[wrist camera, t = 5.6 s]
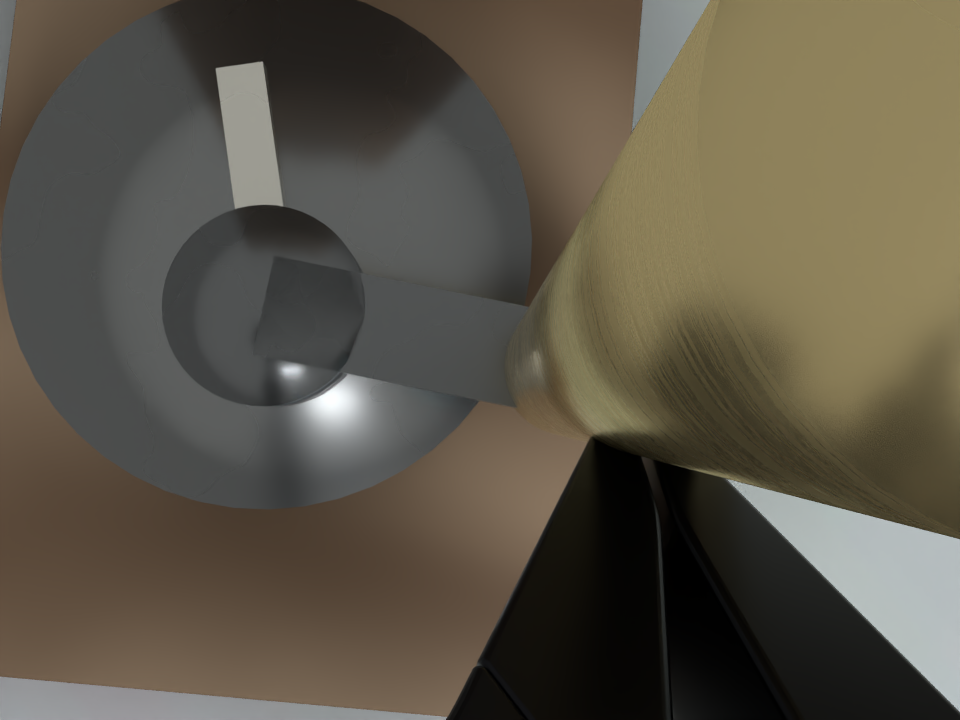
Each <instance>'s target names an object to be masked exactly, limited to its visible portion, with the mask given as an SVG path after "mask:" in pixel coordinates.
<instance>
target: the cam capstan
mask: <svg viewBox="0 0 960 720" xmlns="http://www.w3.org/2000/svg"><path fill="white" fill-rule="evenodd" d="M531 249H532V233H531V222H530V211H529V202H528V198H527V194H526V189H525V185H524V180H523V176H522V171H521V169H520V166H519V163H518V160H517V158H516V155H515V152H514V150H513V147H512V144H511V142H510V139H509V137H508V135H507V133H506V131H505V130H504V128H503V126H502V124H501V122H500V120H499V118H498V116H497V114H496V112H495V111H494V109H493V107H492V106H491V105H490V103H489V102H488V100H487V99H486V98H485V96H484V95H483V93H482V92H481V91H480V89H479V88H478V86H477V85H476V83H475V82H474V81H473V80H472V79H471V78H470V77H469V76H468V74H467V73H466V72H465V71H464V70H463V69H462V68H461V67H460V66H459V65H458V64H457V63H456V62H455V60H454V59H453V58H452V57H451V56H449V55H448V54H447V53H446V52H445V51H443V50H442V49H441V48H440V47H439V46H437V45H436V44H435V43H434V42H433V41H431V40H430V39H429V38H428V37H427V36H425V35H424V34H422V33H421V32H419V31H417V30H416V29H414V28H413V27H411V26H409V25H408V24H406V23H405V22H403V21H402V20H400V19H398V18H397V17H395V16H393V15H390V14H388V13H386V12H384V11H382V10H380V9H377V8H375V7H373V6H371V5H369V4H367V3H364V2H361V1H357V0H181V1H179V2H176V3H173V4H170V5H167V6H165V7H163V8H160V9H158V10H156V11H154V12H152V13H150V14H148V15H146V16H144V17H142V18H140V19H138V20H136V21H134V22H133V23H131V24H130V25H128V26H127V27H125V28H124V29H122V30H121V31H119V32H118V33H116V34H115V35H113V36H112V37H110V38H109V39H107V40H106V41H105V42H103V43H102V44H101V45H100V46H99V47H98V48H96V49H95V50H94V51H93V52H92V53H91V54H89V55H88V56H87V57H86V58H85V59H84V60H82V61H81V62H80V63H79V64H78V66H77V67H76V68H75V69H74V70H73V71H72V72H71V73H70V74H69V76H68V77H67V78H66V79H65V80H64V81H63V82H62V83H61V84H60V86H59V87H58V88H57V89H56V91H55V92H54V94H53V95H52V96H51V98H50V99H49V101H48V102H47V104H46V105H45V107H44V108H43V110H42V111H41V112H40V114H39V115H38V117H37V119H36V121H35V123H34V125H33V127H32V129H31V131H30V133H29V135H28V137H27V138H26V140H25V142H24V144H23V146H22V149H21V152H20V154H19V157H18V160H17V163H16V166H15V169H14V171H13V174H12V177H11V180H10V185H9V189H8V194H7V199H6V203H5V208H4V213H3V225H2V238H1V261H2V279H3V286H4V291H5V297H6V302H7V307H8V312H9V317H10V320H11V323H12V326H13V329H14V332H15V335H16V338H17V341H18V344H19V347H20V349H21V351H22V353H23V355H24V357H25V359H26V361H27V363H28V365H29V367H30V369H31V372H32V374H33V376H34V378H35V380H36V381H37V383H38V384H39V386H40V387H41V388H42V390H43V391H44V393H45V394H46V396H47V397H48V399H49V400H50V402H51V403H52V405H53V406H54V408H55V409H56V410H57V411H58V412H59V414H60V415H61V416H62V417H63V418H64V419H65V420H66V421H67V423H68V424H69V425H70V426H71V427H72V428H73V429H74V430H75V431H76V433H77V434H78V435H79V436H81V437H82V438H83V439H84V440H85V441H86V442H88V443H89V444H90V445H91V446H92V447H93V448H95V449H96V450H97V451H98V452H99V453H100V454H102V455H103V456H104V457H105V458H107V459H108V460H110V461H111V462H113V463H115V464H116V465H118V466H119V467H121V468H122V469H124V470H125V471H127V472H128V473H130V474H132V475H133V476H135V477H137V478H139V479H141V480H143V481H145V482H148V483H150V484H152V485H154V486H156V487H158V488H160V489H162V490H165V491H167V492H170V493H173V494H177V495H180V496H183V497H186V498H189V499H192V500H195V501H199V502H204V503H209V504H215V505H221V506H226V507H232V508H248V509H280V508H291V507H302V506H308V505H313V504H317V503H322V502H326V501H331V500H335V499H339V498H342V497H345V496H348V495H350V494H353V493H356V492H359V491H361V490H364V489H367V488H370V487H372V486H374V485H376V484H378V483H380V482H382V481H384V480H386V479H388V478H390V477H392V476H393V475H395V474H397V473H399V472H401V471H403V470H405V469H406V468H407V467H409V466H410V465H412V464H413V463H415V462H416V461H417V460H419V459H420V458H422V457H423V456H425V455H426V454H427V453H429V452H430V451H432V450H433V449H434V448H435V447H436V446H437V445H438V444H440V443H441V442H442V441H443V440H444V439H445V438H446V437H447V436H448V435H449V434H451V433H452V432H453V431H454V430H455V429H456V428H457V427H458V426H459V425H460V424H461V423H462V421H463V420H464V419H465V418H466V417H467V415H468V414H469V413H470V412H471V411H472V409H473V408H474V407H475V406H476V405H477V404H478V402H479V401H482V402H487V403H492V404H497V405H502V406H507V407H512V408H515V410H516V411H517V412H518V413H519V414H520V415H521V416H522V417H523V418H524V419H525V420H526V421H527V422H529V423H530V424H532V425H533V426H535V427H536V428H539V429H541V430H543V431H546V432H549V433H552V434H556V435H560V436H564V437H567V438H571V439H575V440H579V441H583V442H587V443H588V441H589V439H590V437H591V438H593V439H595V440H597V441H599V442H601V443H603V444H605V445H608V446H610V447H612V448H614V449H617V450H620V451H623V452H627V453H630V454H633V455H637V456H641V457H645V458H649V459H652V460H656V461H660V462H664V463H668V464H672V465H676V466H679V467H683V468H687V469H691V470H695V471H699V472H703V473H707V474H710V475H714V476H718V477H722V478H726V479H730V480H734V481H737V482H741V483H745V484H749V485H753V486H757V487H761V488H764V489H768V490H772V491H776V492H780V493H784V494H788V495H792V496H795V497H799V498H803V499H807V500H811V501H815V502H819V503H822V504H826V505H830V506H834V507H838V508H842V509H846V510H849V511H853V512H857V513H861V514H865V515H869V516H873V517H877V518H880V519H884V520H888V521H892V522H896V523H900V524H904V525H907V526H911V527H915V528H919V529H923V530H927V531H931V532H934V533H938V534H942V535H946V536H950V537H954V538H958V539H960V0H710V2H709V4H708V5H707V7H706V9H705V11H704V12H703V14H702V16H701V17H700V19H699V21H698V22H697V24H696V26H695V27H694V29H693V31H692V32H691V34H690V36H689V38H688V39H687V41H686V43H685V44H684V46H683V48H682V49H681V51H680V53H679V54H678V56H677V58H676V60H675V61H674V63H673V65H672V66H671V68H670V70H669V71H668V73H667V75H666V76H665V78H664V80H663V81H662V83H661V85H660V87H659V88H658V90H657V92H656V93H655V95H654V97H653V98H652V100H651V102H650V103H649V105H648V107H647V108H646V110H645V112H644V114H643V115H642V117H641V119H640V120H639V122H638V124H637V125H636V127H635V129H634V130H633V132H632V134H631V136H630V137H629V139H628V141H627V142H626V144H625V146H624V147H623V149H622V151H621V152H620V154H619V156H618V157H617V159H616V161H615V163H614V164H613V166H612V168H611V169H610V171H609V173H608V174H607V176H606V178H605V179H604V181H603V183H602V184H601V186H600V188H599V190H598V191H597V193H596V195H595V196H594V198H593V200H592V201H591V203H590V205H589V206H588V208H587V210H586V212H585V213H584V215H583V217H582V218H581V220H580V222H579V223H578V225H577V227H576V228H575V230H574V232H573V233H572V235H571V237H570V239H569V240H568V242H567V244H566V245H565V247H564V249H563V250H562V252H561V254H560V255H559V257H558V259H557V260H556V262H555V264H554V266H553V267H552V269H551V271H550V272H549V274H548V276H547V277H546V279H545V281H544V282H543V284H542V286H541V288H540V289H539V291H538V293H537V294H536V296H535V298H534V299H533V301H532V303H531V304H530V306H529V307H527V306H525V301H526V295H527V289H528V284H529V278H530V272H531Z"/></svg>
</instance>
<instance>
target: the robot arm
mask: <svg viewBox="0 0 960 720" xmlns="http://www.w3.org/2000/svg"><path fill="white" fill-rule="evenodd" d="M446 720H960V712H959V711H958V710H957V709H956V708H955V707H954V706H953V705H952V704H951V703H950V702H949V701H948V700H947V699H946V698H945V697H944V696H943V695H942V694H941V693H940V692H939V691H938V690H937V689H936V688H935V687H934V686H933V685H932V684H931V683H930V682H929V681H928V680H927V679H926V678H925V677H924V676H923V675H922V674H921V673H920V672H919V671H918V670H917V669H916V668H915V667H914V666H913V665H912V664H911V663H910V662H909V661H908V660H907V659H906V658H905V657H904V656H903V655H902V654H901V653H900V652H899V651H898V650H897V649H896V648H895V647H894V646H893V645H892V644H891V643H890V642H889V641H888V640H887V639H886V638H885V637H884V636H883V635H882V634H881V633H880V632H879V631H878V630H877V629H876V628H875V627H874V626H873V625H872V624H871V623H870V622H869V621H868V620H867V619H866V618H865V617H864V616H863V615H862V614H861V613H860V612H859V611H858V610H857V609H856V608H855V607H854V606H853V605H852V604H851V603H850V602H849V601H848V600H847V599H846V598H845V597H844V596H843V595H842V594H841V593H840V592H839V591H838V590H837V589H836V588H835V587H834V586H833V585H832V584H831V583H830V582H829V581H828V580H827V579H826V578H825V577H824V576H823V575H822V574H821V573H820V572H819V571H818V570H817V569H816V568H815V567H814V566H813V565H812V564H811V563H810V562H809V561H808V560H807V559H806V558H805V557H804V556H803V555H802V554H801V553H800V552H799V551H798V550H797V549H796V548H795V547H794V546H793V545H792V544H791V543H790V542H789V541H788V540H787V539H786V538H785V537H784V536H783V535H782V534H781V533H780V532H779V531H778V530H777V529H776V528H775V527H774V526H773V525H772V524H771V523H770V522H769V521H768V520H767V519H766V518H765V517H764V516H763V515H762V514H761V513H760V512H759V511H758V510H757V509H756V508H755V507H754V506H753V505H752V504H751V503H750V502H749V501H748V500H747V499H746V498H745V497H744V496H743V495H742V494H741V493H740V492H739V491H738V490H737V489H736V488H735V487H734V486H733V485H732V484H731V483H730V482H729V481H728V480H727V479H726V478H722V477H718V476H714V475H710V474H707V473H703V472H699V471H695V470H691V469H687V468H683V467H679V466H676V465H672V464H668V463H664V462H660V461H656V460H652V459H649V458H645V457H641V456H637V455H633V454H630V453H627V452H623V451H620V450H617V449H614V448H612V447H610V446H608V445H605V444H603V443H601V442H599V441H597V440H595V439H593V438H591V437H590V439H589V441H588V443H587V445H586V447H585V449H584V451H583V453H582V455H581V457H580V458H579V460H578V462H577V464H576V466H575V468H574V470H573V472H572V474H571V476H570V478H569V480H568V482H567V484H566V486H565V488H564V490H563V492H562V494H561V496H560V498H559V500H558V502H557V504H556V506H555V508H554V510H553V512H552V514H551V516H550V518H549V520H548V522H547V524H546V526H545V528H544V530H543V532H542V534H541V536H540V538H539V540H538V542H537V544H536V546H535V548H534V550H533V552H532V554H531V556H530V558H529V560H528V562H527V564H526V566H525V568H524V570H523V572H522V574H521V576H520V578H519V580H518V582H517V584H516V586H515V588H514V590H513V592H512V594H511V596H510V597H509V599H508V601H507V603H506V605H505V607H504V609H503V611H502V613H501V615H500V617H499V619H498V621H497V623H496V625H495V627H494V629H493V631H492V633H491V635H490V637H489V639H488V641H487V643H486V645H485V647H484V649H483V651H482V653H481V655H480V657H479V659H478V661H477V665H476V666H475V667H474V668H473V669H472V671H471V673H470V675H469V677H468V679H467V681H466V683H465V685H464V687H463V689H462V691H461V693H460V695H459V697H458V699H457V701H456V703H455V705H454V706H453V708H452V710H451V712H450V714H449V715H448V717H447V719H446Z"/></svg>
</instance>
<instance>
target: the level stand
mask: <svg viewBox="0 0 960 720" xmlns="http://www.w3.org/2000/svg"><path fill="white" fill-rule="evenodd" d="M179 1H181V0H17V1H16V8H15V16H14V24H13V32H12V39H11V47H10V55H9V63H8V70H7V78H6V86H5V94H4V101H3V109H2V117H1V125H0V676H1V677H12V678H23V679H34V680H45V681H56V682H67V683H79V684H90V685H101V686H112V687H123V688H134V689H145V690H156V691H167V692H178V693H189V694H201V695H212V696H223V697H234V698H245V699H256V700H267V701H278V702H289V703H300V704H311V705H323V706H334V707H345V708H356V709H367V710H378V711H389V712H400V713H411V714H422V715H433V716H444V717H448V715H449V714H450V712H451V710H452V708H453V706H454V705H455V703H456V701H457V699H458V697H459V695H460V693H461V691H462V689H463V687H464V685H465V683H466V681H467V679H468V677H469V675H470V673H471V671H472V669H473V668H474V667H475V666H476V665H477V661H478V659H479V657H480V655H481V653H482V651H483V649H484V647H485V645H486V643H487V641H488V639H489V637H490V635H491V633H492V631H493V629H494V627H495V625H496V623H497V621H498V619H499V617H500V615H501V613H502V611H503V609H504V607H505V605H506V603H507V601H508V599H509V597H510V596H511V594H512V592H513V590H514V588H515V586H516V584H517V582H518V580H519V578H520V576H521V574H522V572H523V570H524V568H525V566H526V564H527V562H528V560H529V558H530V556H531V554H532V552H533V550H534V548H535V546H536V544H537V542H538V540H539V538H540V536H541V534H542V532H543V530H544V528H545V526H546V524H547V522H548V520H549V518H550V516H551V514H552V512H553V510H554V508H555V506H556V504H557V502H558V500H559V498H560V496H561V494H562V492H563V490H564V488H565V486H566V484H567V482H568V480H569V478H570V476H571V474H572V472H573V470H574V468H575V466H576V464H577V462H578V460H579V458H580V457H581V455H582V453H583V451H584V449H585V447H586V445H587V442H583V441H579V440H575V439H571V438H567V437H564V436H560V435H556V434H552V433H549V432H546V431H543V430H541V429H539V428H536V427H535V426H533V425H532V424H530V423H529V422H527V421H526V420H525V419H524V418H523V417H522V416H521V415H520V414H519V413H518V412H517V411H516V410H515V408H512V407H507V406H502V405H497V404H492V403H487V402H482V401H479V402H478V404H477V405H476V406H475V407H474V408H473V409H472V411H471V412H470V413H469V414H468V415H467V417H466V418H465V419H464V420H463V421H462V423H461V424H460V425H459V426H458V427H457V428H456V429H455V430H454V431H453V432H452V433H451V434H449V435H448V436H447V437H446V438H445V439H444V440H443V441H442V442H441V443H440V444H438V445H437V446H436V447H435V448H434V449H433V450H432V451H430V452H429V453H427V454H426V455H425V456H423V457H422V458H420V459H419V460H417V461H416V462H415V463H413V464H412V465H410V466H409V467H407V468H406V469H405V470H403V471H401V472H399V473H397V474H395V475H393V476H392V477H390V478H388V479H386V480H384V481H382V482H380V483H378V484H376V485H374V486H372V487H370V488H367V489H364V490H361V491H359V492H356V493H353V494H350V495H348V496H345V497H342V498H339V499H335V500H331V501H326V502H322V503H317V504H313V505H308V506H302V507H291V508H280V509H248V508H232V507H226V506H221V505H215V504H209V503H204V502H199V501H195V500H192V499H189V498H186V497H183V496H180V495H177V494H173V493H170V492H167V491H165V490H162V489H160V488H158V487H156V486H154V485H152V484H150V483H148V482H145V481H143V480H141V479H139V478H137V477H135V476H133V475H132V474H130V473H128V472H127V471H125V470H124V469H122V468H121V467H119V466H118V465H116V464H115V463H113V462H111V461H110V460H108V459H107V458H105V457H104V456H103V455H102V454H100V453H99V452H98V451H97V450H96V449H95V448H93V447H92V446H91V445H90V444H89V443H88V442H86V441H85V440H84V439H83V438H82V437H81V436H79V435H78V434H77V433H76V431H75V430H74V429H73V428H72V427H71V426H70V425H69V424H68V423H67V421H66V420H65V419H64V418H63V417H62V416H61V415H60V414H59V412H58V411H57V410H56V409H55V408H54V406H53V405H52V403H51V402H50V400H49V399H48V397H47V396H46V394H45V393H44V391H43V390H42V388H41V387H40V386H39V384H38V383H37V381H36V380H35V378H34V376H33V374H32V372H31V369H30V367H29V365H28V363H27V361H26V359H25V357H24V355H23V353H22V351H21V349H20V347H19V344H18V341H17V338H16V335H15V332H14V329H13V326H12V323H11V320H10V317H9V312H8V307H7V302H6V297H5V291H4V286H3V279H2V261H1V238H2V225H3V213H4V208H5V203H6V199H7V194H8V189H9V185H10V180H11V177H12V174H13V171H14V169H15V166H16V163H17V160H18V157H19V154H20V152H21V149H22V146H23V144H24V142H25V140H26V138H27V137H28V135H29V133H30V131H31V129H32V127H33V125H34V123H35V121H36V119H37V117H38V115H39V114H40V112H41V111H42V110H43V108H44V107H45V105H46V104H47V102H48V101H49V99H50V98H51V96H52V95H53V94H54V92H55V91H56V89H57V88H58V87H59V86H60V84H61V83H62V82H63V81H64V80H65V79H66V78H67V77H68V76H69V74H70V73H71V72H72V71H73V70H74V69H75V68H76V67H77V66H78V64H79V63H80V62H81V61H82V60H84V59H85V58H86V57H87V56H88V55H89V54H91V53H92V52H93V51H94V50H95V49H96V48H98V47H99V46H100V45H101V44H102V43H103V42H105V41H106V40H107V39H109V38H110V37H112V36H113V35H115V34H116V33H118V32H119V31H121V30H122V29H124V28H125V27H127V26H128V25H130V24H131V23H133V22H134V21H136V20H138V19H140V18H142V17H144V16H146V15H148V14H150V13H152V12H154V11H156V10H158V9H160V8H163V7H165V6H167V5H170V4H173V3H176V2H179ZM357 1H361V2H364V3H367V4H369V5H371V6H373V7H375V8H377V9H380V10H382V11H384V12H386V13H388V14H390V15H393V16H395V17H397V18H398V19H400V20H402V21H403V22H405V23H406V24H408V25H409V26H411V27H413V28H414V29H416V30H417V31H419V32H421V33H422V34H424V35H425V36H427V37H428V38H429V39H430V40H431V41H433V42H434V43H435V44H436V45H437V46H439V47H440V48H441V49H442V50H443V51H445V52H446V53H447V54H448V55H449V56H451V57H452V58H453V59H454V60H455V62H456V63H457V64H458V65H459V66H460V67H461V68H462V69H463V70H464V71H465V72H466V73H467V74H468V76H469V77H470V78H471V79H472V80H473V81H474V82H475V83H476V85H477V86H478V88H479V89H480V91H481V92H482V93H483V95H484V96H485V98H486V99H487V100H488V102H489V103H490V105H491V106H492V107H493V109H494V111H495V112H496V114H497V116H498V118H499V120H500V122H501V124H502V126H503V128H504V130H505V131H506V133H507V135H508V137H509V139H510V142H511V144H512V147H513V150H514V152H515V155H516V158H517V160H518V163H519V166H520V169H521V171H522V176H523V180H524V185H525V189H526V194H527V198H528V202H529V211H530V222H531V233H532V249H531V272H530V278H529V284H528V289H527V295H526V301H525V306H527V307H529V306H530V304H531V303H532V301H533V299H534V298H535V296H536V294H537V293H538V291H539V289H540V288H541V286H542V284H543V282H544V281H545V279H546V277H547V276H548V274H549V272H550V271H551V269H552V267H553V266H554V264H555V262H556V260H557V259H558V257H559V255H560V254H561V252H562V250H563V249H564V247H565V245H566V244H567V242H568V240H569V239H570V237H571V235H572V233H573V232H574V230H575V228H576V227H577V225H578V223H579V222H580V220H581V218H582V217H583V215H584V213H585V212H586V210H587V208H588V206H589V205H590V203H591V201H592V200H593V198H594V196H595V195H596V193H597V191H598V190H599V188H600V186H601V184H602V183H603V181H604V179H605V178H606V176H607V174H608V173H609V171H610V169H611V168H612V166H613V164H614V163H615V161H616V159H617V157H618V156H619V154H620V152H621V151H622V149H623V147H624V146H625V144H626V142H627V141H628V139H629V137H630V136H631V132H632V120H633V108H634V96H635V84H636V72H637V61H638V49H639V37H640V25H641V13H642V1H643V0H357Z"/></svg>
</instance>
